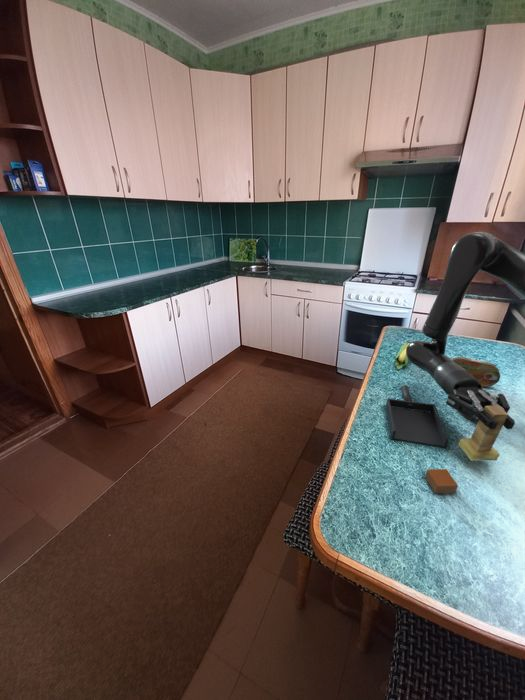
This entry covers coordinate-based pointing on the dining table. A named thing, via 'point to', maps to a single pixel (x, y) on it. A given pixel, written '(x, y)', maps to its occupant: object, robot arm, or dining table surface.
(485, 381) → the tin
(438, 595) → the dining table surface
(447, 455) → the dining table surface
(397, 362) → the edible corn
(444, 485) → the brown square block
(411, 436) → the pan
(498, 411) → the pillar on square base
